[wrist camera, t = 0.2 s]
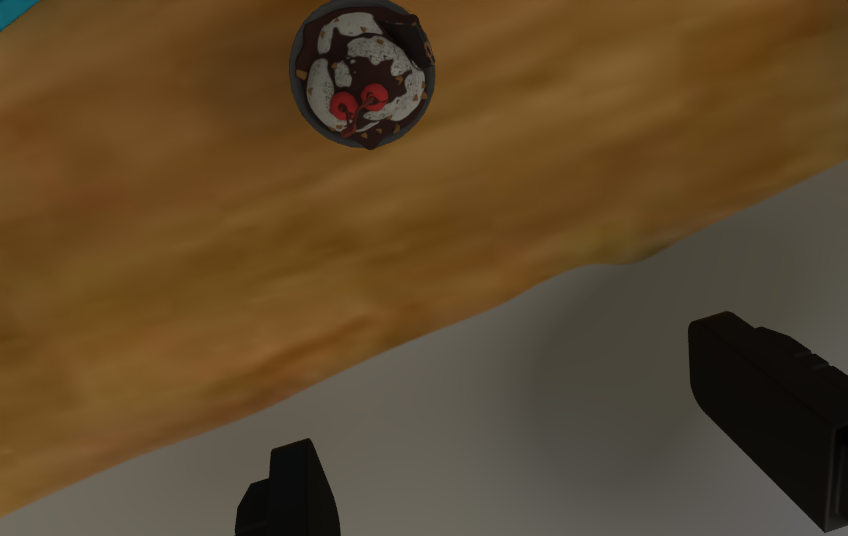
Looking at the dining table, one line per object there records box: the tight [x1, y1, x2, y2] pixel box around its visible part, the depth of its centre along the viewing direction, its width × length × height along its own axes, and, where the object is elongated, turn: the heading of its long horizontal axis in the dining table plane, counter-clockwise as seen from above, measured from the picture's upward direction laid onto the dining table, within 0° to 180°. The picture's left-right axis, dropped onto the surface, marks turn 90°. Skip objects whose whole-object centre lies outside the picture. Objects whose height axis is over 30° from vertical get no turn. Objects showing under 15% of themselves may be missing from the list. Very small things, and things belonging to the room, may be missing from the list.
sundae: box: [289, 0, 435, 150], centre depth 30 cm, size 7×7×15 cm
